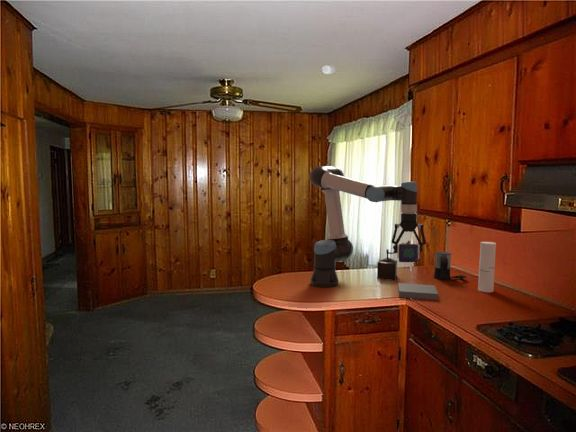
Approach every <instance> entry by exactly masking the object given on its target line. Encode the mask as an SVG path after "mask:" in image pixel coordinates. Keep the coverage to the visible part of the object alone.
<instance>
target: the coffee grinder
mask: <svg viewBox="0 0 576 432" xmlns="http://www.w3.org/2000/svg"><path fill="white" fill-rule="evenodd" d="M392 249H393V252H391V251H389V249H388V248H387V249H386V257H385V258H383V259H379V260H378V261H377V273H376V274H377V275H376V278H377V279H378V280H388V281H396V280H397V278H399V277H398V260H396V259H394V258H390V257H389V255H393V254H396V255H397V251H395V244H394V245H393V246H392Z"/></svg>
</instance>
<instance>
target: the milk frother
mask: <svg viewBox="0 0 576 432" xmlns="http://www.w3.org/2000/svg"><path fill="white" fill-rule="evenodd" d="M451 259H452V252H448V251H435V252H434V272H433V278H435V279H437V280H450V279H459V280H464V279H467V276H466V275H463V274H459V275H455V276H451V263H452V262H451V261H452V260H451Z"/></svg>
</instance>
